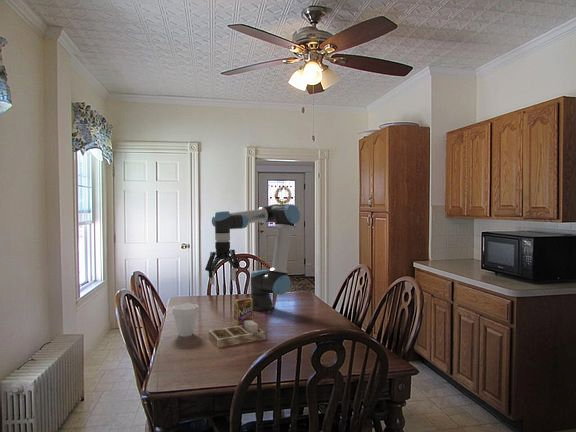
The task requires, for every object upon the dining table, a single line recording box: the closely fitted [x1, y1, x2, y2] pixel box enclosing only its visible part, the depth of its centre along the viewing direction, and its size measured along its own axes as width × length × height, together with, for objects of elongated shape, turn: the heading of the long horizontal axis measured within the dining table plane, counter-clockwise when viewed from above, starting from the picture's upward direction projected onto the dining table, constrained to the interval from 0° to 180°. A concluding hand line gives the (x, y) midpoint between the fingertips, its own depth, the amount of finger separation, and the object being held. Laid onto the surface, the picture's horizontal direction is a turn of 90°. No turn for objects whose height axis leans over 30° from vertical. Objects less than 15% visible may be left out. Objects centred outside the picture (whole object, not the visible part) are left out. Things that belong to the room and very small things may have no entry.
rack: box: [207, 325, 267, 348], centre depth 181 cm, size 23×16×4 cm
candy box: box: [233, 296, 253, 327], centre depth 198 cm, size 9×4×15 cm, turn 123°
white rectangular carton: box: [244, 319, 259, 333], centre depth 184 cm, size 4×8×6 cm, turn 28°
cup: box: [172, 303, 199, 338], centre depth 190 cm, size 12×12×14 cm
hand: (223, 282), depth 200 cm, fingers open, 13 cm apart
